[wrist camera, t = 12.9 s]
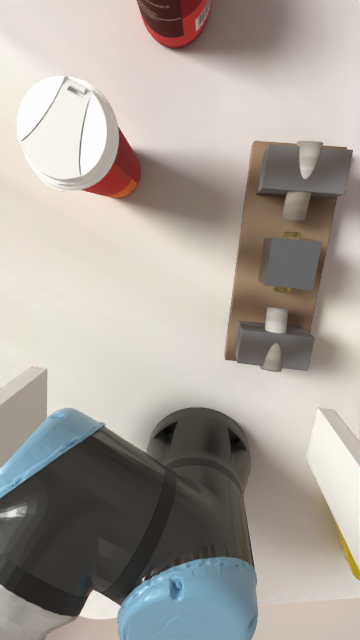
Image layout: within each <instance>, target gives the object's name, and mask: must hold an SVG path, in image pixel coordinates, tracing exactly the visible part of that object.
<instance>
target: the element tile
mask: <svg viewBox="0 0 360 640" xmlns="http://www.w3.org/2000/svg"><path fill="white" fill-rule="evenodd" d="M332 515H333V514H332ZM333 519H334V522H335V526H336V529H337V533H338V537H339V540H340V544H341V548H342V550H343V552H344V555H345V557H346V559H347V562H348V564H349V566H350V568H351V571H352V573H353V575H354V576H355V577H356V578H357V579H359V580H360V571H359V568H358V566H357V564H356V562H355V560H354V558H353V556H352V554H351V552H350V550H349V548H348V546H347V543H346V541H345V539H344V537H343V535H342V533H341V531H340V529H339V527H338V525H337V523H336V520H335V518H334V516H333Z"/></svg>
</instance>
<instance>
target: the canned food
mask: <svg viewBox="0 0 360 640" xmlns="http://www.w3.org/2000/svg"><path fill="white" fill-rule="evenodd" d="M137 2H138V5H139V9H140V12H141V15H142V18H143V21H144V24H145V26H146V28H147V30H148V32H149V33H150V34H151V35H152V37H153V38H154V39H155V40H156V41H158V42H159V43H160V44H162V45H164V46H166V47H170V48H180V47H184V46H186V45H188V44H190V43H191V42H192V41H194V40H195V39H196V38H197V37H198V36H199V34H200V33H201V31H202V30H203V28H204V26H205V24H206V22H207V19H208V16H209V13H210V8H211V0H137Z"/></svg>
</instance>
